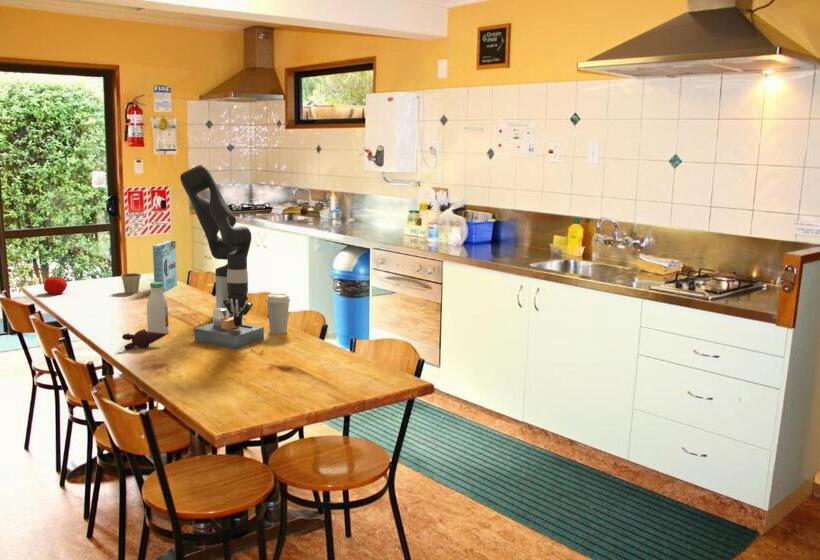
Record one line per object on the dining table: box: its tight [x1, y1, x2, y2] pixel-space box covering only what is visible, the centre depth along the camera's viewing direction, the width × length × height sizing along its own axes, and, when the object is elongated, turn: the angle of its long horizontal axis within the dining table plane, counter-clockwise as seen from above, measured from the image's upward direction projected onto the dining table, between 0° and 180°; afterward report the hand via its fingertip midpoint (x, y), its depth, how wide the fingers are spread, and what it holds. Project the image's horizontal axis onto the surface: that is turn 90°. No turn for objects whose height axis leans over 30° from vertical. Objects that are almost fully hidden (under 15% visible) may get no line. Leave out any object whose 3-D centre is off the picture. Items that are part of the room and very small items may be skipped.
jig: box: [193, 322, 265, 350], centre depth 283 cm, size 16×20×6 cm
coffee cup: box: [265, 292, 291, 335], centre depth 296 cm, size 10×10×15 cm
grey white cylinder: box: [212, 308, 230, 328], centre depth 284 cm, size 6×6×11 cm
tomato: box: [43, 276, 68, 295], centre depth 356 cm, size 9×10×8 cm
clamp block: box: [221, 316, 238, 330], centre depth 282 cm, size 7×3×3 cm, turn 152°
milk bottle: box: [146, 281, 169, 335], centre depth 290 cm, size 8×8×20 cm
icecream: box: [122, 328, 167, 350], centre depth 271 cm, size 7×7×15 cm
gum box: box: [152, 240, 178, 293], centre depth 373 cm, size 20×5×23 cm, turn 178°
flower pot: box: [120, 272, 142, 295], centre depth 363 cm, size 9×9×9 cm
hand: (238, 325), depth 280 cm, fingers closed
